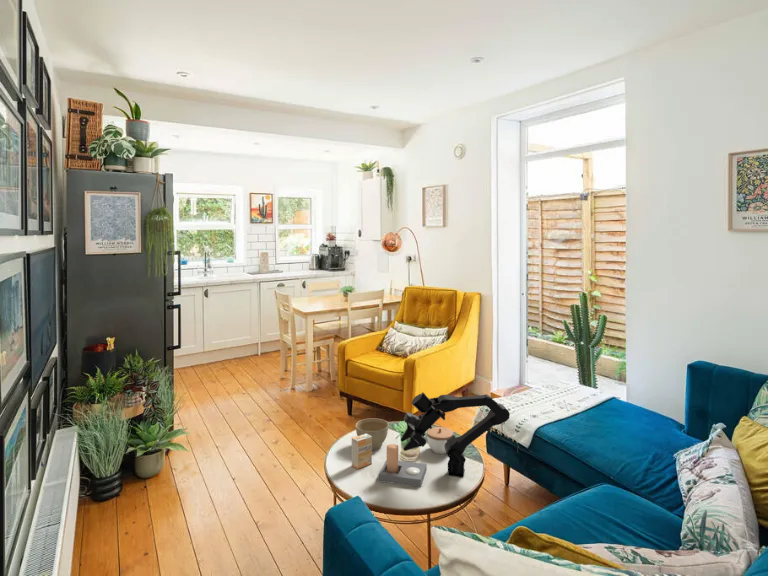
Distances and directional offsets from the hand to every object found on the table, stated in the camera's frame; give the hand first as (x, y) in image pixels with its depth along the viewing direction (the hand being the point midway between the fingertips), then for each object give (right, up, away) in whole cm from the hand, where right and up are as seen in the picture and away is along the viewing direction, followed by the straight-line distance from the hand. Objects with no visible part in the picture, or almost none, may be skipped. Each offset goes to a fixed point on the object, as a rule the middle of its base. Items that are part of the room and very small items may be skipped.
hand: (402, 445), depth 202 cm
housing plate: (0, -13, +1) cm, 13 cm away
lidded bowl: (+19, -11, +25) cm, 33 cm away
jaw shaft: (-4, -13, +1) cm, 14 cm away
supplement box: (-18, -13, +11) cm, 24 cm away
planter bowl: (-14, -10, +30) cm, 35 cm away
